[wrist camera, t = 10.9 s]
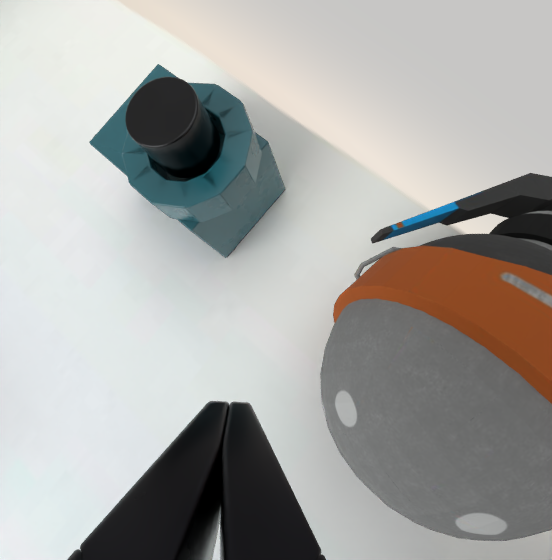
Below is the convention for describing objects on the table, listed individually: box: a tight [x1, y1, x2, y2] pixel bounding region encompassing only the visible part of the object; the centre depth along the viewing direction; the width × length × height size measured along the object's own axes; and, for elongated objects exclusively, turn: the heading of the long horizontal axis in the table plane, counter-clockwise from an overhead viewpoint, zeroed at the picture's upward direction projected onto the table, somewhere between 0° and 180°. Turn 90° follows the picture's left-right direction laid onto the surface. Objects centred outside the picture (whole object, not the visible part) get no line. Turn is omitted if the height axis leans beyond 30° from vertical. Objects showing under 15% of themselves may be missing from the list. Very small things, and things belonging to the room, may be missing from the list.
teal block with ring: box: [90, 64, 285, 258], centre depth 19 cm, size 9×6×7 cm, turn 49°
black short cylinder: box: [125, 77, 220, 178], centre depth 15 cm, size 3×3×3 cm
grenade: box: [321, 173, 552, 541], centre depth 14 cm, size 11×10×15 cm
